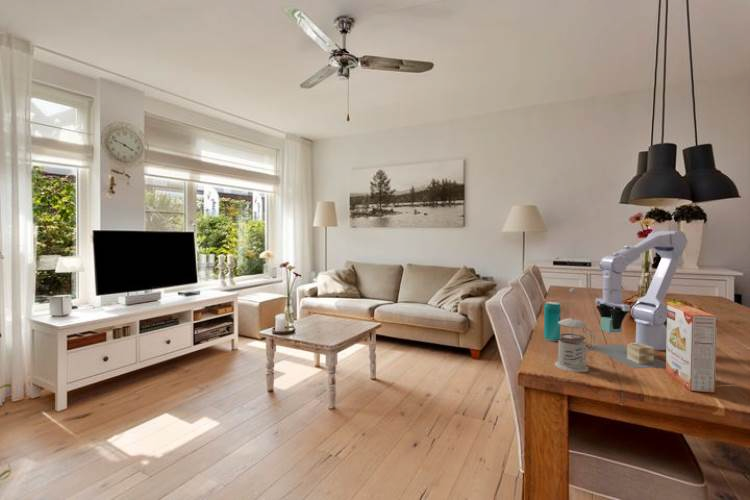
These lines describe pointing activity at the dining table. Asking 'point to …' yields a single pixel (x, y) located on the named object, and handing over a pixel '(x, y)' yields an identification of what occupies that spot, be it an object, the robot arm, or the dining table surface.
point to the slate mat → (625, 356)
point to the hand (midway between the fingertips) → (611, 326)
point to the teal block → (608, 325)
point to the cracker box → (691, 347)
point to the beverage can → (552, 321)
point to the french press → (572, 346)
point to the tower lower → (640, 358)
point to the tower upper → (640, 349)
